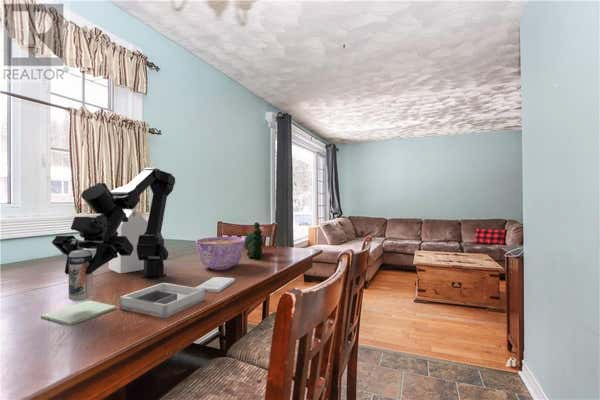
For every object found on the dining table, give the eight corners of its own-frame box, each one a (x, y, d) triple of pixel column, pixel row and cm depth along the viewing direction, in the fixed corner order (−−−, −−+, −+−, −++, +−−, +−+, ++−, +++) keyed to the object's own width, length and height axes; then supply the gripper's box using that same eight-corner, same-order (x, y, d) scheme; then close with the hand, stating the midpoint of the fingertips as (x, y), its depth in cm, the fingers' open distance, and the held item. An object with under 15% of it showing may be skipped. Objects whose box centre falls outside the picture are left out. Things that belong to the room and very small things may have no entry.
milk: (151, 267, 120) (151, 204, 120) (120, 273, 111) (120, 205, 111) (138, 263, 127) (138, 204, 127) (108, 268, 118) (108, 204, 118)
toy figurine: (267, 264, 134) (260, 250, 158) (268, 224, 132) (261, 215, 156) (246, 266, 132) (242, 251, 156) (247, 224, 130) (243, 216, 154)
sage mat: (40, 317, 70) (40, 315, 70) (89, 302, 80) (89, 300, 80) (69, 325, 66) (69, 322, 66) (116, 308, 76) (116, 306, 76)
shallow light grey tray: (119, 308, 76) (119, 296, 76) (163, 292, 89) (163, 282, 89) (164, 318, 70) (165, 305, 70) (204, 299, 83) (204, 289, 83)
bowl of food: (196, 275, 108) (196, 244, 108) (194, 264, 127) (194, 237, 127) (249, 271, 115) (249, 242, 115) (240, 261, 134) (241, 235, 134)
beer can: (63, 301, 71) (63, 252, 71) (79, 295, 76) (78, 249, 75) (82, 302, 71) (82, 253, 71) (97, 295, 76) (96, 249, 75)
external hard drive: (234, 282, 102) (218, 294, 90) (213, 281, 103) (194, 292, 91) (234, 278, 102) (218, 288, 90) (213, 276, 103) (194, 287, 91)
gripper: (57, 204, 77) (16, 255, 66) (126, 205, 76) (96, 256, 66) (81, 230, 85) (47, 279, 74) (143, 231, 85) (119, 280, 74)
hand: (76, 273), depth 72 cm, fingers closed on beer can, 5 cm apart
